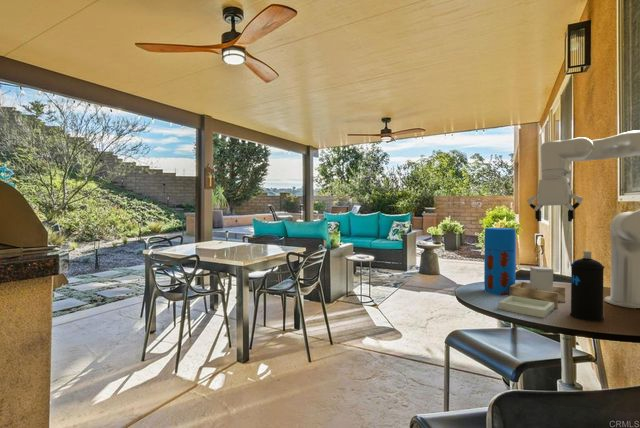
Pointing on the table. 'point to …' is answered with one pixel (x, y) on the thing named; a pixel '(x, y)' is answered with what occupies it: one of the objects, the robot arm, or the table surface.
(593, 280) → the aerosol can
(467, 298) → the table surface
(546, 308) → the tray
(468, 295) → the table surface
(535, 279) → the skincare box
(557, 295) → the bay
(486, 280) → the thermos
